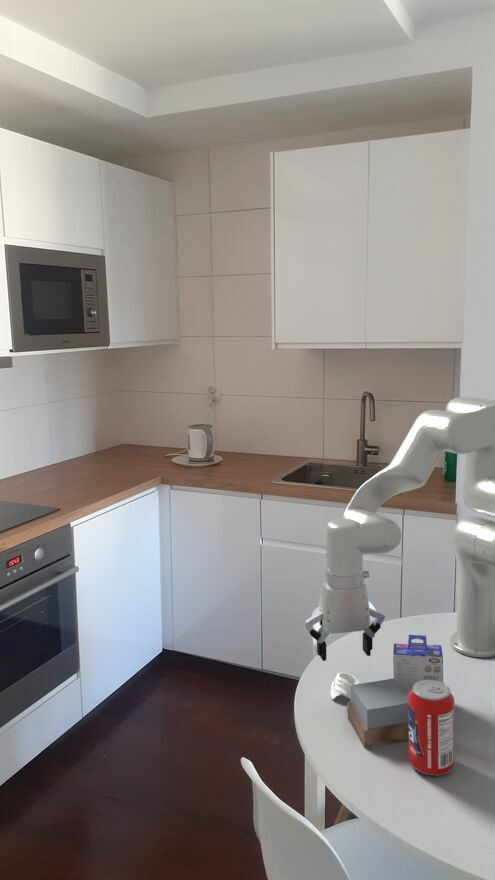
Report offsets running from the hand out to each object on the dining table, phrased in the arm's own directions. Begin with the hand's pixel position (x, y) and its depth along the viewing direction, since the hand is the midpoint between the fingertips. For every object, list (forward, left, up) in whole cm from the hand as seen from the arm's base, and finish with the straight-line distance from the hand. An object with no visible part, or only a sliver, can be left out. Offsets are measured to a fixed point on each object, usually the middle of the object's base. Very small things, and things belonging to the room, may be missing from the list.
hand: (344, 655), depth 148 cm
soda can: (-8, +26, -9) cm, 29 cm away
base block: (-3, +14, -9) cm, 17 cm away
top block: (-3, +14, -5) cm, 15 cm away
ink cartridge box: (-13, +7, -9) cm, 18 cm away
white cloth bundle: (0, 0, -9) cm, 9 cm away
